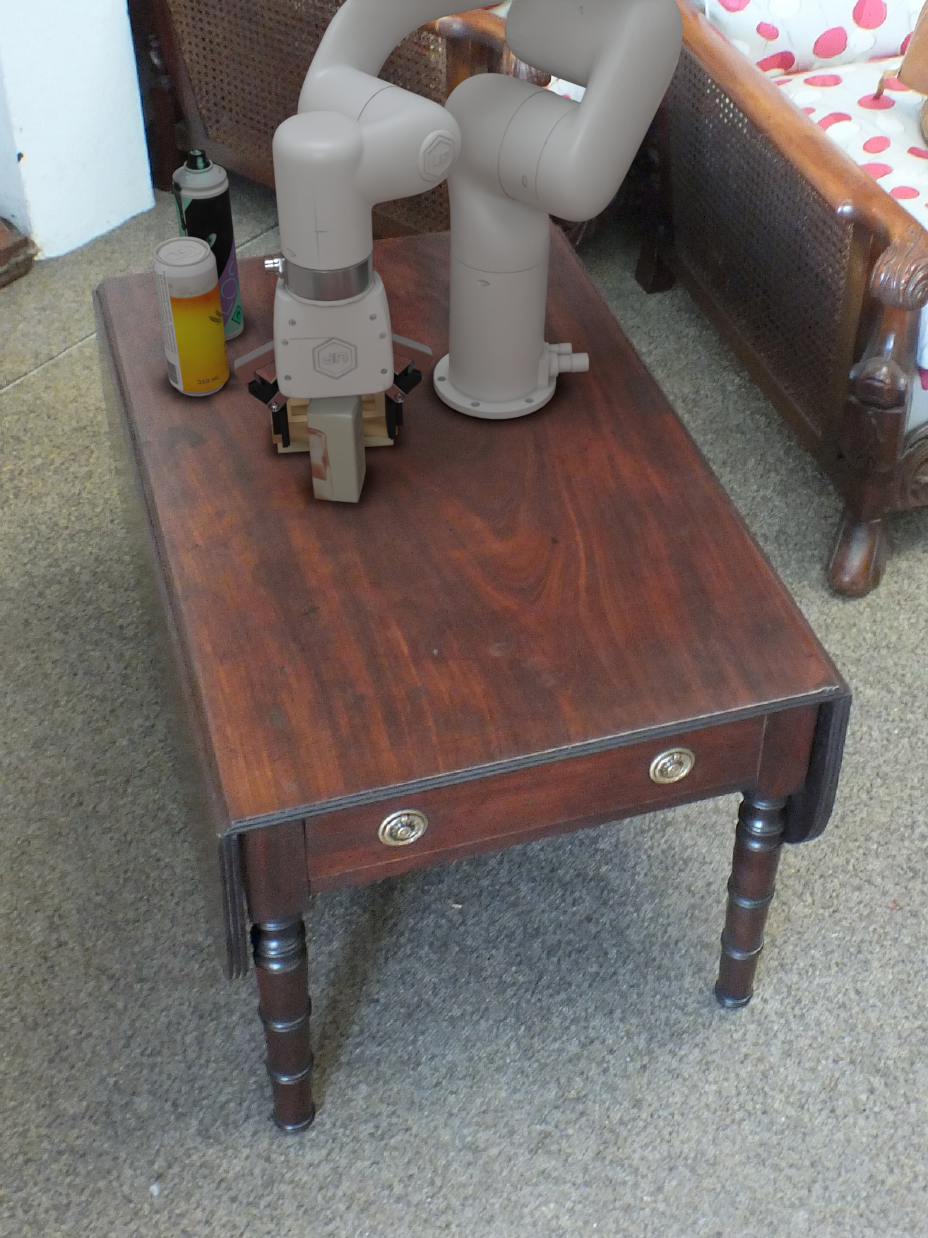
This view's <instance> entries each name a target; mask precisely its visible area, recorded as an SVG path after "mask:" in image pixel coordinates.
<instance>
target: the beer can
mask: <svg viewBox="0 0 928 1238" xmlns="http://www.w3.org/2000/svg"><path fill="white" fill-rule="evenodd" d="M150 264H151V270H152V271H151V272H152V277H153V278H152V279H153V283H154V290H155V296H156V304H157V309H158V315H159V323H160V328H161V335H162V342H163V347H164V353H165V355H164V356H165V359H166V367H167V373H168V379H169V382H170V384H171V385H172V387H174V388H176V390H178V391H179V392H180V393H181V394H184V395H186V396H191V397H204V396H209V395H212V394H214V393H217V392H218V391H220V390H221V389H222V388H223V387H224V385H225V384H226V382H227V381H228V379H229V377H230V368H229V360H228V353H227V352H228V351H227V343H226V342H227V341H225V334H224V325H223V317H222V309H221V300H220V292H219V284H218V275H217V267H216V258H215V255H214V254H213V252H212V251H211V250H210V246H209V245H208V244H207V243H206V242H205V241H203V240H201V239H198V238H194V237H180V236H176V237H172V238H168V239H165V240H163V241H162V242H159V243H158V244H157V245H156V247H155V248H154V250H153V256H152V259H151V262H150Z"/></svg>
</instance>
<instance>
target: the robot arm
mask: <svg viewBox="0 0 928 1238" xmlns="http://www.w3.org/2000/svg"><path fill="white" fill-rule="evenodd" d="M506 1H507V0H345V1H344V3H343V4H342V5H341V6H340V7H339V8H338V10H337V12H335V15H333V17H332V19H331V21H330V22H329V24H328V25H327V26H328V27H327V28H326V30H325V32H324V34H323V36H322V38H321V40H320V43H319V45H318V48H317V49H316V52H315V54H314V56H313V58H312V61H311V62H310V65H309V68H308V70H307V73H306V75H305V78H304V81H303V83H302V86H301V89H300V94H299V98H298V103H297V112H296V114H294V115H292V116H290V117H288V118H287V119H285V120H283V121H282V122H281V123H280V124H279V125H278V127H277V128H276V130H275V131H274V134H273V138H272V144H271V145H272V160H273V173H274V185H275V194H276V197H275V198H276V209H277V218H278V219H277V220H278V229H279V230H278V232H279V241H280V243H279V244H280V251H277V255H273V256H272V257H264V269H265V275H274V276H279V277H278V278H277V281H276V286H275V293H274V301H273V325H272V326H273V327H272V329H273V339H272V340H270V341H268V342H267V343H265V344H263V345H261V346H259V347H257V348H255V349H253V350H251V351H250V352H248V353H246V354H244V355H242V356H240V357H238V358H236V359H235V360H234V362H233V363H234V364H233V365H234V366H233V369H234V374H235V375H236V376H237V378H238V379H239V381H240V382H241V383H242V384H243V386H245V387H246V389H247V391H248V393H249V394H250V395H251V396H252V397H254V398H256V399H257V400H258V401H260V402H261V403H262V404H264V405H266V406H267V410H268V411H269V412H270V411H271V413H272V422H273V432H274V435H282V445H283V448H288V446H290V434H289V423H288V412H287V401H288V400H289V399H290V398H293V399H312V398H327V397H341V396H355V395H367V394H376V393H380V392H384V394H385V421H386V427H387V433H388V438H390V439H391V440H393V441H394V440H395V441H396V440H397V435H396V426H397V427H401V426H403V425H404V415H403V414H404V411H403V407H404V405H403V403H404V402H405V401H406V400H407V395H409V394H410V393H411V391H413V390H414V389H415V388H416V387H417V386H418V385H419V384H420V383H422V380H423V377H424V375H425V373H426V372H427V370H428V369H429V367H430V365H431V364H432V361H433V360H434V356H433V352H432V351H433V350H432V347H430V346H428V345H426V344H423V343H421V342H418V341H415V340H414V339H411V338H407V337H405V336H402V335H399V334H398V333H397V334H396V333H394V332H392V325H391V315H390V310H389V309H390V308H389V303H388V298H387V297H388V296H387V292H386V288H385V285H384V283H383V280H382V277H381V275H380V274H379V272H378V271H377V270H376V269H375V268H374V267H375V265H374V243H373V241H374V239H373V217H372V215H373V214H372V213H373V212H372V210H373V208H374V206H375V205H377V204H381V203H386V202H390V201H394V200H395V201H396V200H399V199H404V198H408V197H412V196H417V195H420V194H423V193H426V192H428V191H430V190H432V189H434V188H436V187H437V186H439V185H440V184H441V183H443V182H444V181H445V180H446V184H447V191H448V199H449V220H450V221H449V225H450V226H449V228H450V231H449V235H450V236H449V240H450V241H449V246H450V247H449V307H448V308H449V314H448V315H449V318H448V319H449V320H448V321H449V322H448V325H449V326H448V328H449V329H448V333H449V334H448V352H447V353H446V354H445V355H444V356H443V357H441V358H440V360H439V361H438V362H437V364H436V366H434V367H435V368H434V370H433V388H434V391H435V393H436V395H437V396H438V398H439V399H440V400H441V401H442V402H443V403H444V404H446V405H447V406H448V407H449V408H451V409H453V410H455V411H457V412H459V413H462V414H464V415H467V416H469V417H474V418H478V419H479V418H480V419H487V420H506V419H514V418H519V417H523V416H526V415H529V414H532V413H534V412H536V411H538V410H539V409H541V408H543V407H544V406H545V405H547V403H549V402H550V401H551V400H552V398H553V396H554V395H555V391H556V389H557V377H558V376H559V374H560V373H584V372H585V373H586V372H589V370H590V358H589V353H588V352H574V353H573V347H572V343H571V342H560V343H554V344H553V343H552V344H550V343H549V342H548V341H545V328H546V325H545V324H546V312H547V311H546V310H547V300H548V299H547V297H548V285H549V284H548V281H549V269H550V252H551V241H552V239H551V237H552V236H551V235H552V233H551V232H552V229H551V221H550V215H552V216H554V217H556V218H559V219H561V220H565V221H569V222H574V223H581V222H586V221H590V220H592V219H594V218H596V217H597V216H598V215H600V214H601V213H602V212H604V210H605V209H606V208H607V207H608V206H609V204H610V203H611V202H612V200H613V199H614V197H615V196H616V195H617V193H618V192H619V189H620V187H621V186H622V184H623V181H624V180H625V178H626V176H627V173H628V172H629V170H630V168H631V166H632V163H633V161H634V160H635V158H636V155H637V153H638V151H639V149H640V147H641V145H642V143H643V141H644V138H645V137H646V134H647V132H648V131H649V128H650V126H651V124H652V122H653V120H654V118H655V115H656V114H657V111H658V110H659V107H660V105H661V103H662V101H663V99H664V97H665V95H666V93H667V91H668V88H669V86H670V85H671V81H672V79H673V77H674V74H675V72H676V69H677V66H678V63H679V59H680V55H681V52H682V47H683V36H684V23H683V17H682V16H683V15H682V13H681V9H680V7H679V5H678V2H677V1H676V0H511V2H510V6H509V8H508V11H507V15H506V19H505V22H504V23H505V24H504V39H505V43H506V45H507V48H508V50H509V51H510V52H511V53H512V55H513V56H514V57H515V58H516V59H517V60H519V61H520V62H522V63H523V64H525V65H527V66H528V67H531V68H532V69H534V70H537V71H539V72H542V73H544V74H546V75H549V76H552V77H554V78H556V79H559V80H562V81H566V82H567V83H570V84H573V85H576V86H578V87H581V88H584V89H585V90H584V92H583V95H582V97H581V100H580V101H577V100H575V99H572V98H569V97H567V96H564V95H561V94H558V93H557V92H555V91H553V90H550V89H548V88H545V87H542V86H540V85H537V84H534V83H532V82H530V81H527V80H524V79H521V78H519V77H515V76H512V75H508V74H503V73H497V72H496V73H495V72H485V73H479V74H478V73H477V74H475V75H472V76H469V77H468V78H466V79H464V80H463V81H461V82H460V83H459V84H457V86H456V87H455V88H454V89H453V90H452V92H451V93H450V94H449V96H448V98H447V99H446V102H445V104H444V106H442V105H441V104H440V103H437V102H436V101H433V100H431V99H429V98H428V97H425V96H422V95H419V94H417V93H415V92H412V91H410V90H408V89H404V88H402V87H401V86H399V85H396V84H393V83H391V82H388V81H386V80H384V79H381V78H379V74H380V72H381V70H382V68H383V66H384V65H385V63H386V61H387V59H388V58H389V56H390V55H391V54H392V53H393V52H394V50H395V48H397V46H398V45H400V43H401V42H402V41H403V40H405V39H406V37H408V36H410V35H411V34H412V33H413V32H415V31H417V30H418V29H420V28H422V27H424V25H427V24H429V23H432V22H434V21H436V20H440V19H442V18H445V17H450V16H453V15H458V14H461V13H466V12H469V11H474V10H479V9H482V8H487V7H491V6H496V5H499V4H502V3H504V2H506ZM394 355H397V356H400V357H402V358H405V359H407V360H411V362H410V363H409V364H408V365H406V366H405V367H404V368H403V369H402V370H401V371H400V372H397V371H396V370H395V365H394ZM273 362H274V365H275V366H274V367H275V376H273V378H272V379H271V381H268V380H267V379H266V378H264V377H263V376H261V375H260V374H258V373H257V371H258V370H259V371H260V370H261V369H262V368H264V367H266V366H268V365H271V364H272V363H273Z"/></svg>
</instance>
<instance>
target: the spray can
mask: <svg viewBox="0 0 928 1238" xmlns="http://www.w3.org/2000/svg"><path fill="white" fill-rule="evenodd" d="M172 191H173V198H174V204H175V205H174V206H175V211H176V219H177V226H178V233H179V237H194V238H198V239H201V240H203V241H205V242H206V243H207V244H208V245H209V246H210V250H211V251H212V252H213V254H214V255H215V258H216V267H217V275H218V284H219V292H220V300H221V309H222V317H223V325H224V334H225V342H227V341H229V340H232V339H235V338H236V337H239V336H240V335H241V333H243V331H244V328H245V327H244V326H245V325H244V315H243V306H242V305H243V304H242V295H241V286H240V279H239V268H238V260H237V259H238V258H237V251H236V241H235V231H234V222H233V212H232V205H231V197H230V185H229V179H228V177H227V172H226V170H225V168H223V167H222V166H220V165H217V164H215V163H213V162H212V160H211V159H209V158H208V157H207V154H206V150H204V149H196V150H191V151H188V152H187V159H186V161H185V162H184V163H183V165H182V166H181V167H179V168H177V169H176V170H175V171H174V172H173V173H172Z"/></svg>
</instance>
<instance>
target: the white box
mask: <svg viewBox="0 0 928 1238" xmlns="http://www.w3.org/2000/svg"><path fill="white" fill-rule="evenodd" d="M306 415H307V425H308V436H309V447H310V451H309V456H310V466H311V478H312V489H313V498H314V499H316V500H322V501H330V502H331V501H332V502H344V503H355V504H357V503H358V502H359V500H360V496H361V493H362V489H363V485H364V482H365V477H366V472H367V471H366V470H367V468H366V451H365V448H366V447H364V432H363V413H362V395H355V396H341V397H327V398H312V399H309V403H308V407H307V412H306Z"/></svg>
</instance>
